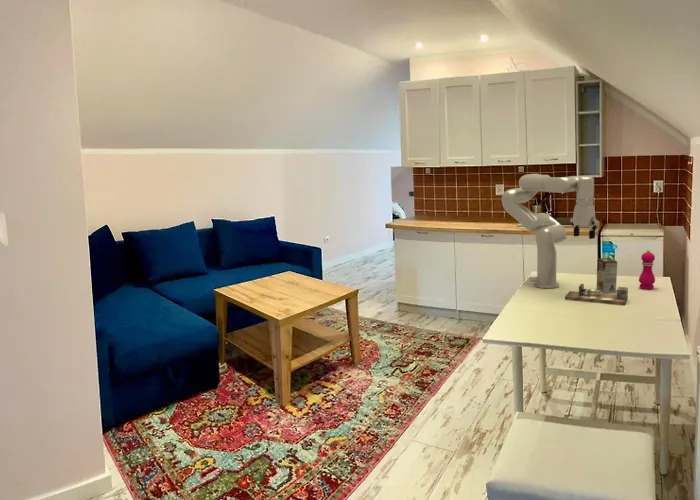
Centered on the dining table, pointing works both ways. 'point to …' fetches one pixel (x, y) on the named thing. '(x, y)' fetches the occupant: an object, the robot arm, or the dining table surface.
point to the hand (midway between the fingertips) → (584, 237)
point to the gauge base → (601, 297)
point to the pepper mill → (647, 271)
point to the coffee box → (606, 275)
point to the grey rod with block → (581, 290)
